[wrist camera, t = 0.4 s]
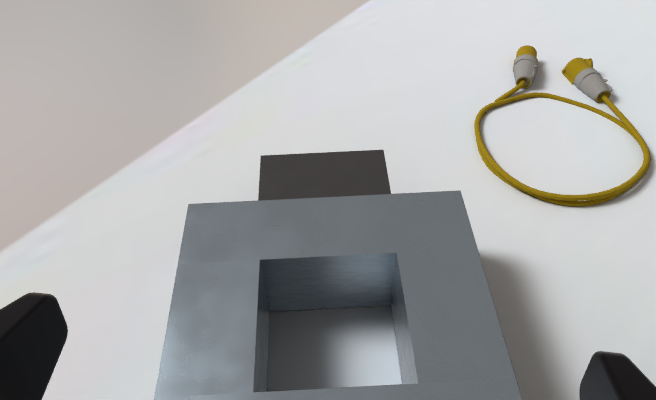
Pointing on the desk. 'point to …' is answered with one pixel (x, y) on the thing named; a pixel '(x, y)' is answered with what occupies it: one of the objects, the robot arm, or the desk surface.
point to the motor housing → (332, 283)
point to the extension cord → (588, 83)
